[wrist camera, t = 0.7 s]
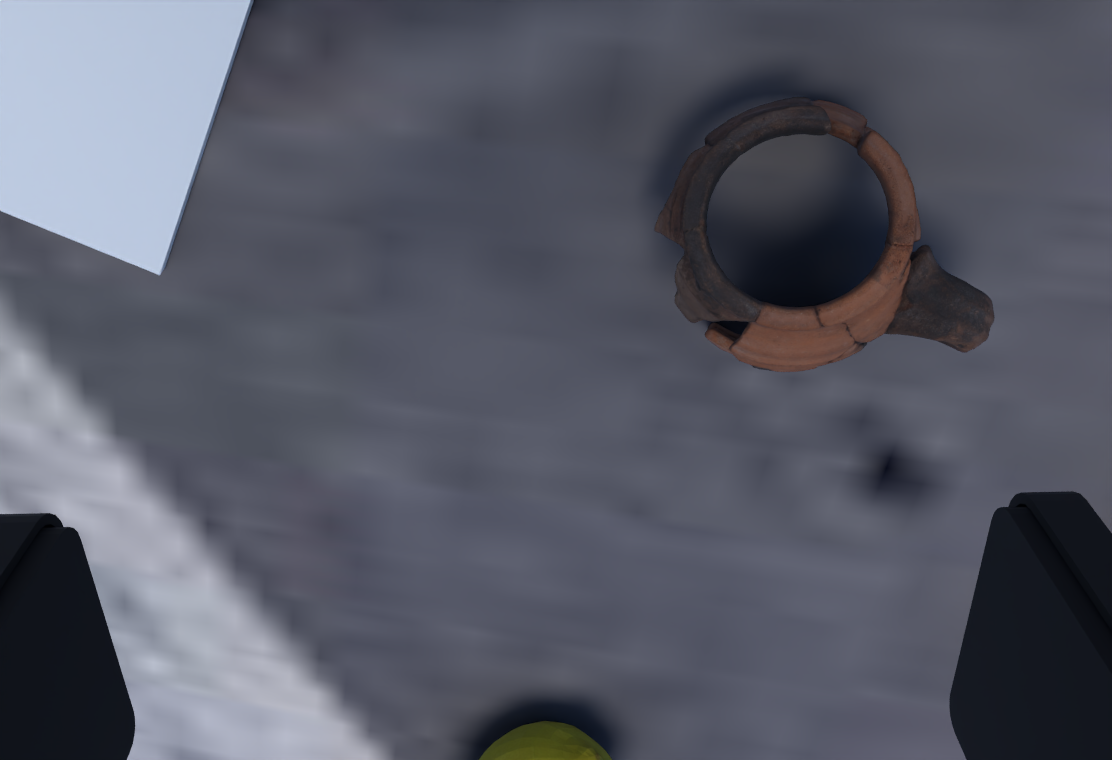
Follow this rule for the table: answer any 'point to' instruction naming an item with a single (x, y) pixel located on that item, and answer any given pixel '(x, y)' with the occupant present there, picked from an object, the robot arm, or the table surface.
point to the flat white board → (110, 115)
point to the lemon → (545, 744)
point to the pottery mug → (846, 322)
